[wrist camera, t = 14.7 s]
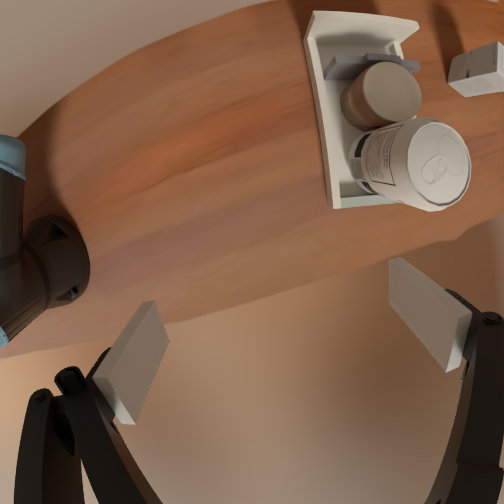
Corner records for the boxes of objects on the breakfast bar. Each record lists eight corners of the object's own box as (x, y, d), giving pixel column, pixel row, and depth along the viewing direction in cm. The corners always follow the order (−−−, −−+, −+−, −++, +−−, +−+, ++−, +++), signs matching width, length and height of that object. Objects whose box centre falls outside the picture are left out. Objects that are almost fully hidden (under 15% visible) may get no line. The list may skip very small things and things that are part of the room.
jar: (344, 132, 33) (369, 123, 24) (335, 81, 31) (356, 58, 22) (393, 131, 32) (427, 124, 23) (384, 81, 30) (415, 63, 21)
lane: (328, 205, 37) (347, 217, 28) (302, 41, 30) (313, 10, 21) (413, 197, 36) (448, 208, 27) (389, 44, 29) (417, 21, 20)
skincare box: (451, 56, 28) (496, 37, 17) (470, 72, 29) (517, 58, 17) (445, 84, 30) (495, 69, 18) (466, 100, 30) (516, 90, 19)
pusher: (323, 80, 30) (339, 59, 23) (322, 73, 30) (337, 50, 22) (396, 82, 30) (425, 66, 22) (394, 75, 29) (423, 58, 22)
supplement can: (380, 119, 31) (445, 98, 17) (414, 171, 33) (487, 181, 18) (333, 153, 33) (381, 147, 18) (370, 206, 34) (431, 234, 20)
